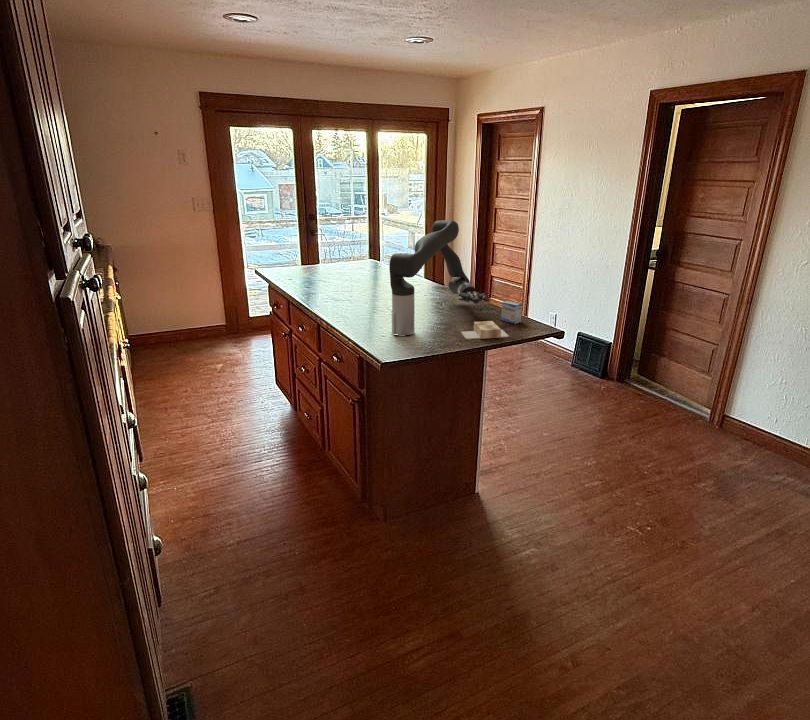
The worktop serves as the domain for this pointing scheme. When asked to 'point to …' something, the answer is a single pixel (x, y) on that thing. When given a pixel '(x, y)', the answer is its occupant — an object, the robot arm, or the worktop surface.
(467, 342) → the worktop surface
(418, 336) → the worktop surface
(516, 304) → the medicine box
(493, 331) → the birch block
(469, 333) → the grey mat
